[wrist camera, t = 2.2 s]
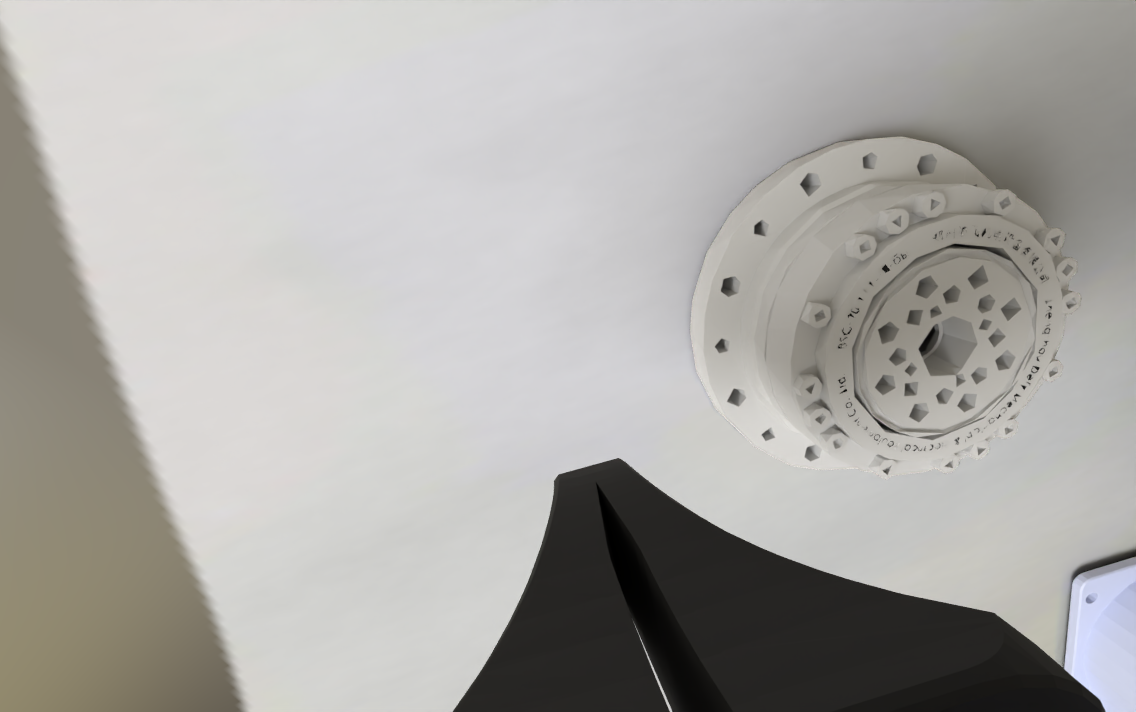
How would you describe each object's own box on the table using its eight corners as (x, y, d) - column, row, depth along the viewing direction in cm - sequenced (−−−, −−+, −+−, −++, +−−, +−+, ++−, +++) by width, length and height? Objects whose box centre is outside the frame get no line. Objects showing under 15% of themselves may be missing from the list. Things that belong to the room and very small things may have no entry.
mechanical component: (1014, 351, 19) (927, 71, 15) (1165, 398, 14) (1090, 27, 11) (764, 501, 19) (629, 258, 16) (840, 588, 15) (679, 283, 12)
